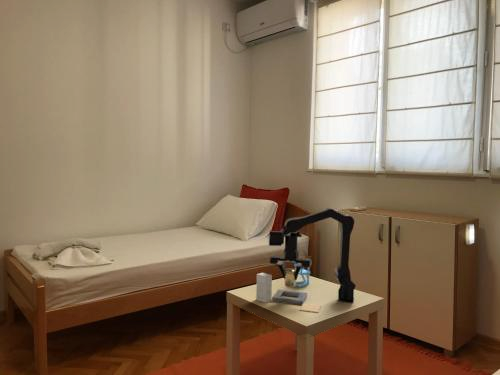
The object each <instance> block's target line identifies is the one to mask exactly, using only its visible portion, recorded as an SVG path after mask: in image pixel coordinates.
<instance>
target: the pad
mask: <svg viewBox="0 0 500 375" xmlns="http://www.w3.org/2000/svg"><path fill="white" fill-rule="evenodd" d="M300 306H301V307H300V308H299V311H302V312H309V313H310V312H311V313H317V314H319V312H320V310H321V309H322V305H321V304H319V305H318V304H311V303H305V302H304V303H303V305H300Z"/></svg>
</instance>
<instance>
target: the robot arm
mask: <svg viewBox="0 0 500 375" xmlns="http://www.w3.org/2000/svg"><path fill="white" fill-rule="evenodd" d="M329 218H331V219H333V220H335V221H336V222H338V225H339V226H338V227H339V228H338V229H339V231H340V243H339V259H338V261H339V262H338V265H337V266H335V265H334V273H333V275H334V276H335V279H336V280H337V282H338V284H339V288H338V292H337V294H338V295H337V296H338V297H337V299H338V301H339V302H345V303H354V300H355V297H354V296H355V289H356V286H357V285H356V284H355V282H354V281H352V277H351V276H352V275H351V270H350V266H349V261H350V250H351V248H350V247H351V246H350V245H351V234H352V232H353V230H354V225H355V218H354V217H353V216H351V215H349V214H347V213H343V214H342V213H340V212H338V211H336V210H335V209H334V208H332V207H327V208H326V209H323V210H320V211H316V212H313V213H310V214H308V215H307V214H306V215H304V216H297V217H296V216H295V217H290V218H287V219H286V220H285V222H284V225H283V227H282V228H281V229H280V231H279V230H278V231H276V230H275V231H274V230H270V231H269V237H268V246H270V247H281V246H282V245H284V250H283V255H284V258H283V257H281V255H277V254H276V255H275V254H273V255H272V256H270V258H269V264H271V265H272V264H273V265H276V267H278V268H279V271H280V273H281V275H282V277H283V278H282V279H284V280H285V272H284V270H285V269H286V263H288V264H295V263H296V264H297V266H296V275H295V280H296V281H297V279H298V277H299V275H300V274H299V272H300V269H301V268H303V269H304V268H308V267H310V268H311V266H312V259H311V258H307V257H302V259H299V258H300V257H299V256H300V251H299V250H298V238H302V237H303V236H302V234H301V233H300V231H299V230H301V229H303V228H304V227H306V226H308V225H311V224H315V223H317V222H320V221H323V220H326V219H329Z"/></svg>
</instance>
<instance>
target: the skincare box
mask: <svg viewBox="0 0 500 375" xmlns="http://www.w3.org/2000/svg"><path fill="white" fill-rule="evenodd" d="M272 276H273V275H272V274H268V273H266V272H261V273H257V274H256V287H255V288H256V290H255V291H256V294H255V295H256V296H255V297H256V298H255V300H257V301H260V302H262V303H265V304H266V303H267V302H268V303H269V302H271V301H272V297H273V296H272V294H273V293H272V291H273V290H272V284H273V281H272V280H273V279H272V278H273V277H272Z"/></svg>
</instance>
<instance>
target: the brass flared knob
mask: <svg viewBox="0 0 500 375" xmlns="http://www.w3.org/2000/svg"><path fill="white" fill-rule="evenodd" d="M284 272H285V279H284V286H286V287H290V288H291V287H297V286H296V284H297V283H296V281H297V280H295V275H296V269H295V268H285V270H284Z"/></svg>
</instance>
